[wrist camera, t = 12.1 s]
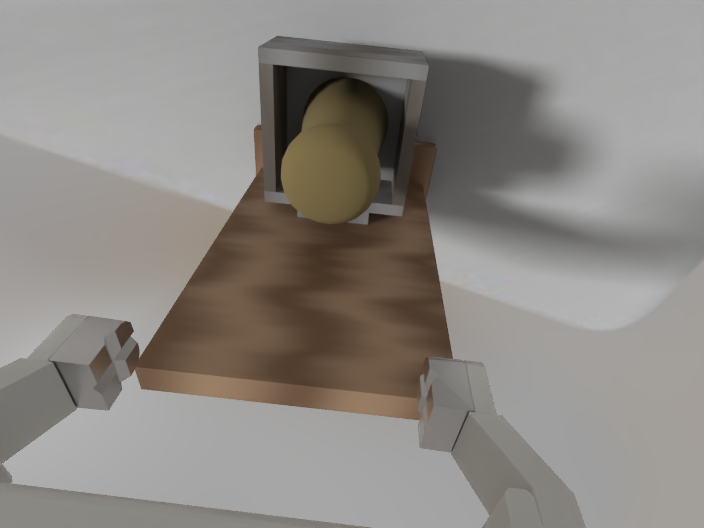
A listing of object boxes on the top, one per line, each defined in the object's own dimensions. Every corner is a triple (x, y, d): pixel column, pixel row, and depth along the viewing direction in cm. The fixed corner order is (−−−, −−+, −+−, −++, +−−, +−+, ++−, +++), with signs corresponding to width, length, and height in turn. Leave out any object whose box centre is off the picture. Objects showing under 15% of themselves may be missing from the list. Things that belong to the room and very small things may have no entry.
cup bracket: (455, 46, 30) (570, 171, 11) (423, 197, 37) (462, 428, 18) (252, 25, 30) (30, 112, 11) (260, 179, 37) (131, 391, 18)
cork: (370, 174, 31) (364, 256, 22) (293, 147, 30) (254, 221, 21) (401, 95, 28) (409, 154, 19) (316, 62, 27) (280, 107, 18)
